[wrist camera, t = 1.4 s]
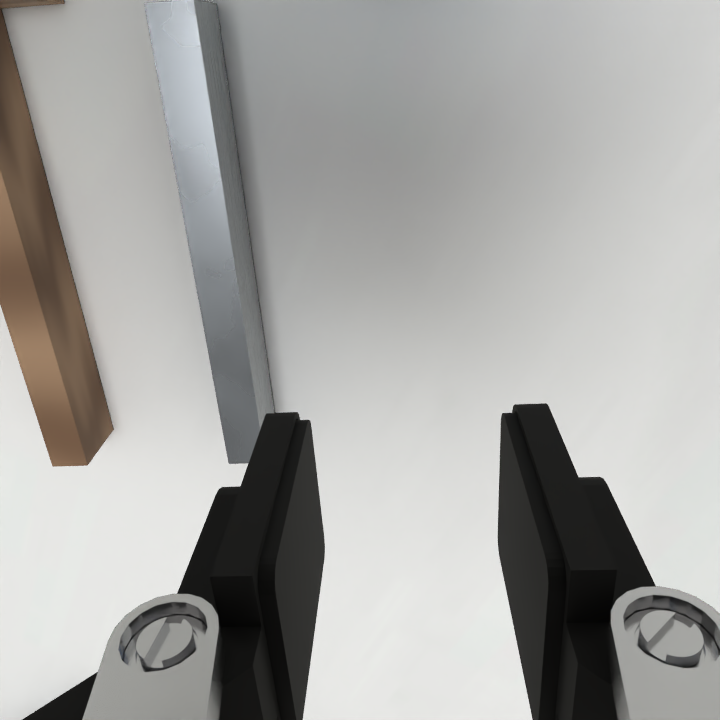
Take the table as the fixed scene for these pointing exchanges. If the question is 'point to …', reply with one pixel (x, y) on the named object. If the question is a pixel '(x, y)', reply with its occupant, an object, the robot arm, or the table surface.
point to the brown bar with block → (43, 285)
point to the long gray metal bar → (213, 212)
